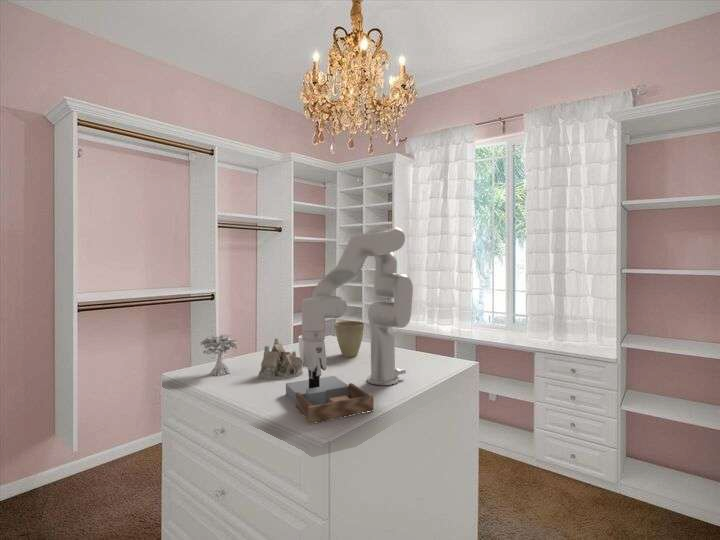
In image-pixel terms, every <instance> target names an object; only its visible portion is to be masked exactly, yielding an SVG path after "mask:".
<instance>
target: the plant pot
mask: <svg viewBox="0 0 720 540" xmlns="http://www.w3.org/2000/svg"><path fill="white" fill-rule="evenodd" d="M364 329H365V322H363V321H360V320H359V321H358V320H345V321H344V320H343V321H337V322H334V331H335V336H336V339H337V343H338V347H339V350H340V352H341V354H342V357H345V358H352V357H356V356H358V353H359V351H360V348H361V345H362V341H363V337H364V331H365V330H364Z"/></svg>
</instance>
